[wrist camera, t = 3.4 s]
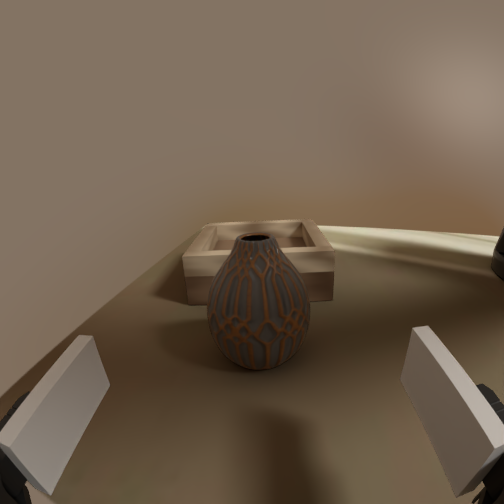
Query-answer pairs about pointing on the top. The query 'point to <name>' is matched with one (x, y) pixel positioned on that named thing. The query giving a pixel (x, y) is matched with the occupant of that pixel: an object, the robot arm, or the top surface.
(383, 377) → the top surface
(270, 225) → the square wooden tray
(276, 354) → the vase
